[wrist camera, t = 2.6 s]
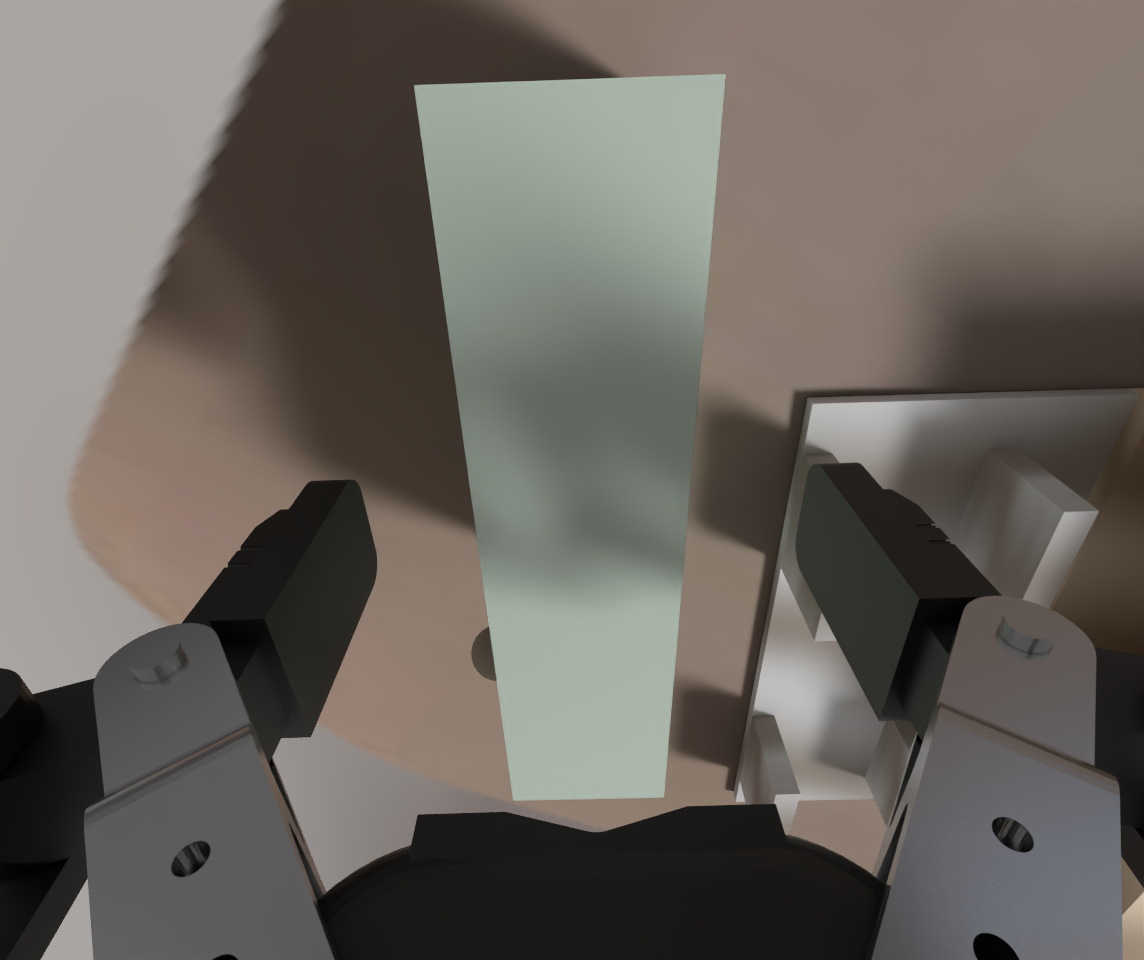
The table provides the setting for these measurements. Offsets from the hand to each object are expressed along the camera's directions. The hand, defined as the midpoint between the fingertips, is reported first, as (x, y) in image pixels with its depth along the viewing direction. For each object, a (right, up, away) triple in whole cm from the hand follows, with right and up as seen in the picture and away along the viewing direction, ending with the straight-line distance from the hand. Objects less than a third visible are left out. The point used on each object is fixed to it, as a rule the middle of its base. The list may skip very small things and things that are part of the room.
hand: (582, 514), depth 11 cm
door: (0, +4, +5) cm, 6 cm away
